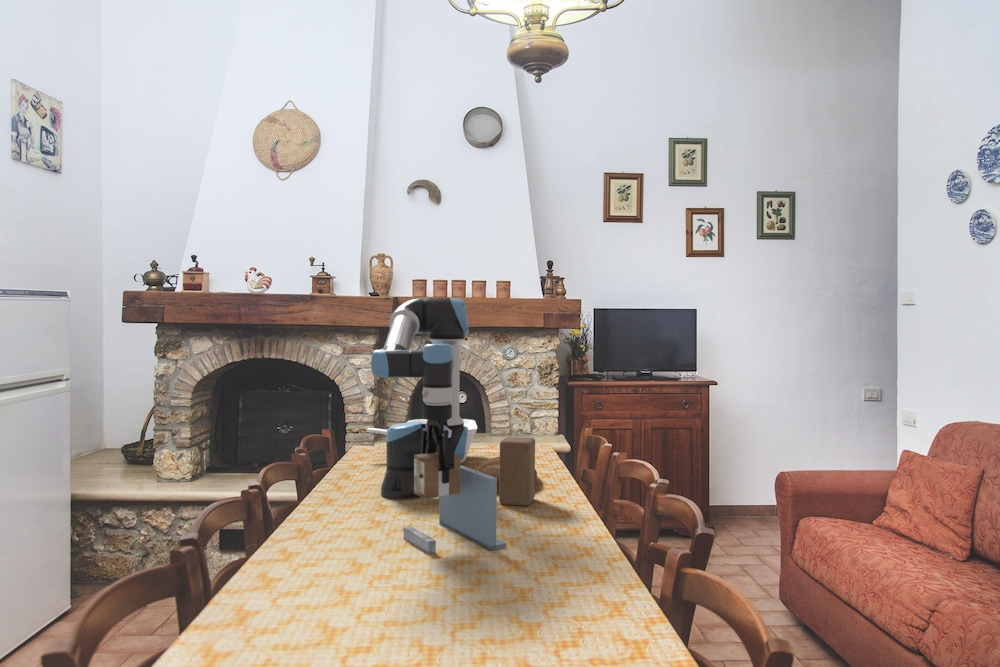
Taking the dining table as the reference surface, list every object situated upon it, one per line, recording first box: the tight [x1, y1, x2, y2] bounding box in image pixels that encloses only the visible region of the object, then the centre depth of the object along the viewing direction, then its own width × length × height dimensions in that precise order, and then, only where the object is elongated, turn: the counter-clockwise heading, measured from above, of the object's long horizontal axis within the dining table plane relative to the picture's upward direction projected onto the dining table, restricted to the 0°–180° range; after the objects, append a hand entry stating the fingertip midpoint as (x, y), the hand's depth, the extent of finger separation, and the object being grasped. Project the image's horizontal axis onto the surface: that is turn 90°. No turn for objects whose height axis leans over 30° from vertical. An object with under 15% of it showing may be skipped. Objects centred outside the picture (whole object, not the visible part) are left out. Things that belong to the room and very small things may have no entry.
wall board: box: [438, 464, 507, 551], centre depth 179 cm, size 26×5×18 cm, turn 34°
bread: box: [476, 456, 538, 495], centre depth 238 cm, size 22×37×8 cm, turn 0°
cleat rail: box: [403, 525, 437, 555], centre depth 170 cm, size 14×2×3 cm, turn 34°
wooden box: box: [414, 452, 461, 500], centre depth 172 cm, size 6×11×10 cm, turn 124°
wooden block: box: [498, 436, 536, 507], centre depth 212 cm, size 10×10×20 cm
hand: (436, 492), depth 173 cm, fingers closed on wooden box, 6 cm apart
